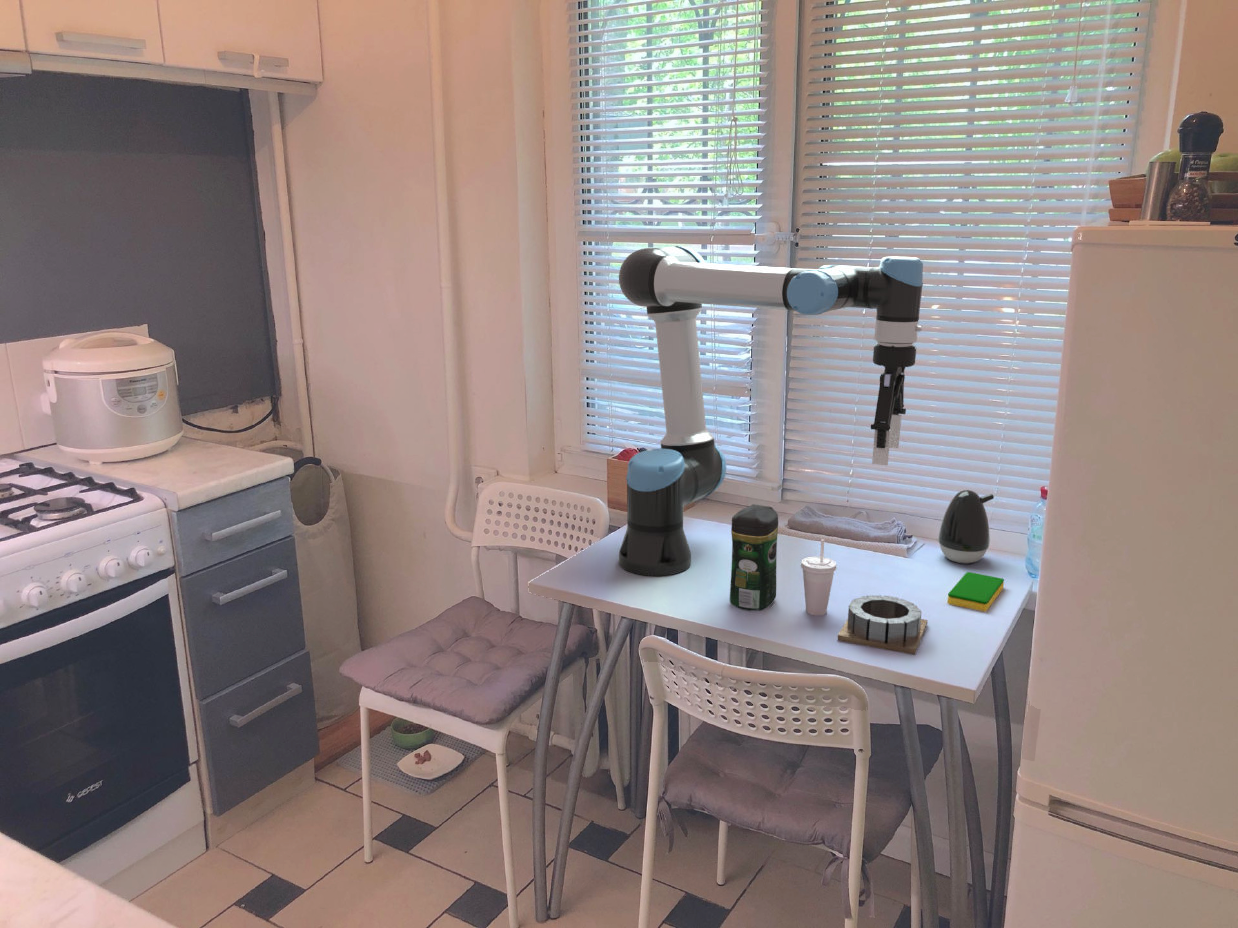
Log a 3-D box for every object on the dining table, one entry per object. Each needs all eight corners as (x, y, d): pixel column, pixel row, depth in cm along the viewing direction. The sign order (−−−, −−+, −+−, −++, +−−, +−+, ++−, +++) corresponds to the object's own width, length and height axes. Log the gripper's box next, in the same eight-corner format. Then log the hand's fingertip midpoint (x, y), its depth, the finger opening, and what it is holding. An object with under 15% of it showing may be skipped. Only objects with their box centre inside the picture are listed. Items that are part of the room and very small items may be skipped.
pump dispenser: (995, 568, 199) (1002, 497, 195) (944, 567, 200) (950, 497, 196) (979, 550, 209) (986, 483, 205) (931, 550, 209) (936, 483, 206)
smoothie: (839, 616, 176) (844, 544, 172) (806, 619, 175) (810, 547, 171) (825, 603, 182) (829, 532, 179) (793, 606, 181) (796, 535, 177)
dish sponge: (1003, 589, 189) (1004, 578, 189) (985, 613, 178) (986, 601, 178) (966, 582, 193) (967, 570, 193) (946, 605, 182) (947, 593, 181)
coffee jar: (741, 589, 189) (744, 499, 184) (780, 597, 185) (784, 504, 180) (723, 607, 180) (725, 513, 176) (763, 615, 177) (767, 519, 172)
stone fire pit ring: (837, 640, 167) (838, 616, 165) (854, 612, 178) (855, 589, 177) (914, 654, 161) (917, 630, 160) (927, 625, 172) (929, 601, 171)
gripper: (907, 354, 164) (896, 474, 169) (924, 336, 186) (914, 442, 191) (862, 351, 167) (853, 469, 172) (885, 333, 189) (876, 438, 194)
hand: (885, 455), depth 182 cm, fingers open, 13 cm apart
